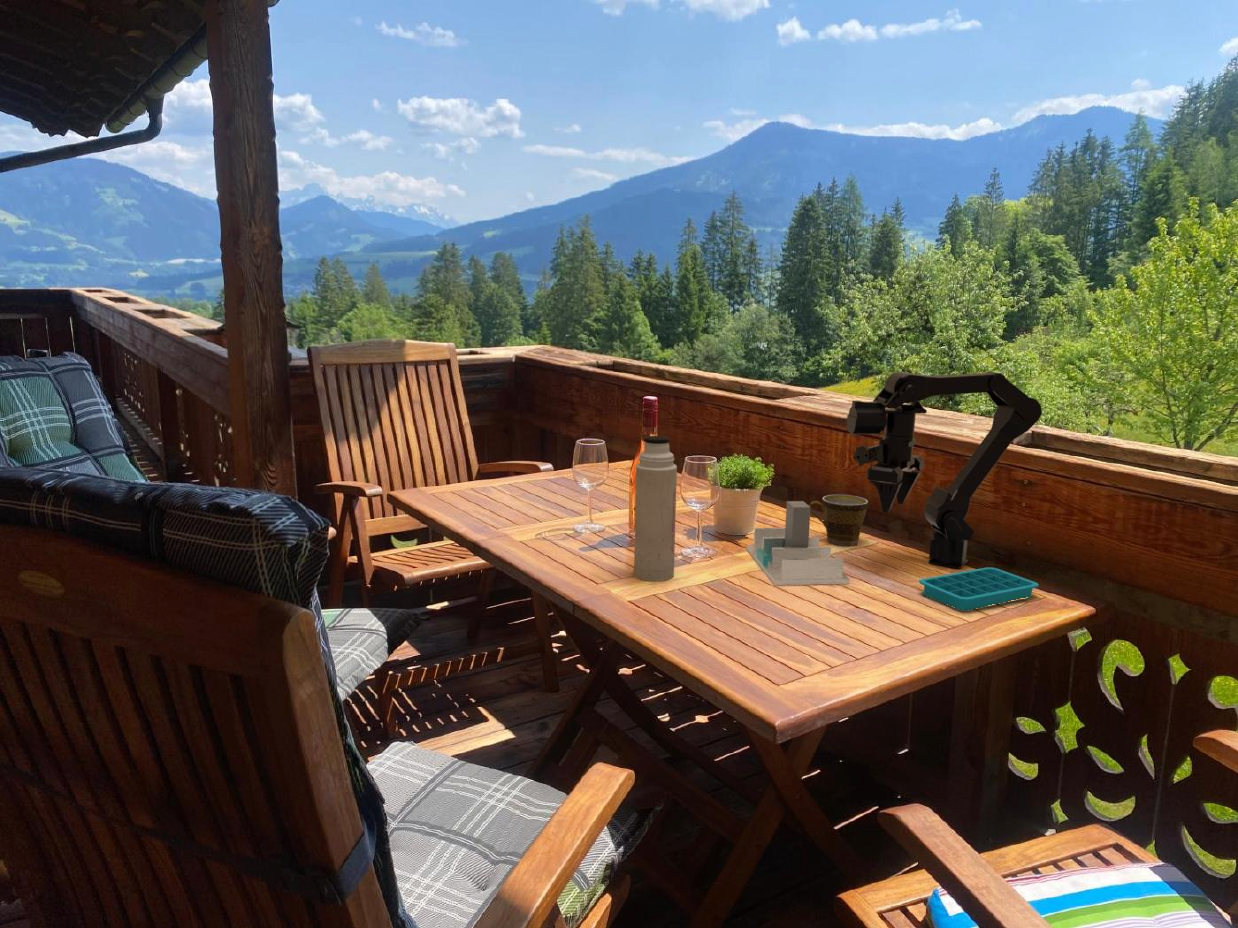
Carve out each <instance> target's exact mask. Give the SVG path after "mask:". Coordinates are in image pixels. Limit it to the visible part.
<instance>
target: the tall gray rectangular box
mask: <svg viewBox="0 0 1238 928" xmlns="http://www.w3.org/2000/svg"><path fill="white" fill-rule="evenodd" d="M809 505H810V504H808V503H806V502H805V501H803V500H795V501H794V500H792V501H790V500H786V509H785V510H786V511H785V526H784V528H785V544H784V548H786V547H808V542H809V537H810V524H811V512H810V510H811V511H812V509H811V507H810V506H809Z"/></svg>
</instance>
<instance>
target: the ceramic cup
mask: <svg viewBox="0 0 1238 928" xmlns="http://www.w3.org/2000/svg"><path fill="white" fill-rule="evenodd" d="M868 503H869V501H868V500H867V499H866V498H864V497H860V496H856V495H850V494H828V495H825V496H823V497H822V503H821V502H820V501H818V500H814V501H811V502H810V503H809V504H808V505H809V506H810V507H811V506H812V505H818V506H819V507H821V510H822V512H823V514H824V520H823V519H821V518H820V516H819V515H818V514H816V513H815V512H814V511H812V509H811V510H810V514H812V515H813V516H814V517H816V518H817V519H818V520H819V522H821V523H822V525H823V527H824V528H825V531H826V539H827V542H828V544H832V545H836V546H839V547H852V546H854V545H857V544H858V542H859V539H860V536H861V535H860V534H861V531H862V526H863V522H864V519H865V518H866V512H867V509H868Z"/></svg>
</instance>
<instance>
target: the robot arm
mask: <svg viewBox="0 0 1238 928" xmlns="http://www.w3.org/2000/svg"><path fill="white" fill-rule="evenodd" d="M884 383H885V384H884V387H883V388H882V389H881V390H880V392H878V394H877V395H876V397H875V398H874V399H873V401H861V400H852V401H851V402H852V403H851V407H850V408H849V410H848V414H847V417H846V426H847V431H848V432H849V434H850V435H879V434H880V433H881V432H884V435H883V436H884V437H883V438H881V439H880V440H879V444H876V445H871V446H868V445H867V444H863V445H858V446H856V447H855V451H853V455H854V456H853V460H855V461H857V462H856V463H857V465H858V466H859V467H860V466H863V465H865V464H868V463H874V462H876V463H875V464H874V465H872V466H870V467H869V468H868V469H867V470H866V480H868V481H869V483H870V484H873V485H874V486H875V487H876V489H877V492H878V495H879V500H880V505H881V510H882V512H883V513H886V514H888V513H889V512H890V510H891V509H892V506H893V504H894V501H895V500H896V502H897V504H898V505H904V503H905V502H906V499H908V498H907V497H908V496H909V494H910V493H911V490H912V489H913V487H914V485H915V483H916V481H917V480H918V478H919V476H920V475H921V474H922V470H924V469H925V462H926V461H925V459H924V458H923V457H922V456H921V455H919V454H918V455H917V454H913V448H914V446H915V445H916V444H917V438H915V436H914V435H915V428H916V427H915V426H916V416H917V415H916V414H926V413H927V412H928V411H927V409H926V408H925V407H923V406H922V404H921V402H920V401H924V400H928V399H929V398H932V397H935V396H936V397H937V396H945V395H962V394H979V393H982V394H983V393H986V394H987V396H988V397H989V399H990V400H991V401H992V403H993V404H994V405H996V406H997V409H996V410H995V412H994V414H993V420H992V425H991V428H990V430H989V431H988V433H987V434H986V435H985V437H984V438H983V440H982V441H981V442H980V443H979V445H978V446H977V448H976V450H975V451H974V452H973V454H972V455H971V456H970V457H969V459H968V460H967V462H966V463H965V464H964V466H963V467H962V469H961V470H960V471H959V473H958V474H957V475H956V477H955V478H954V480H953V481H952V482H951V483H950V484H949V485H948V486H946V487H945V488H941V487H939V486H936V487H935V488H934V489H933V491H932V493H931V495H929V497H928V498H927V499H926V500H925V501H924V502H925V503H926V504H925V506H924V509H923V512H924V517H925V519H926V520H927V522H928V523H930V525H931V527H930V528H931V529H932V530H933V531H935V532H934V533H933V537H932V538H931V539H930V540H929V542H930V543H929V553H928V558H929V560H928V564H932V565H937V566H942V567H948V568H953V569H958V570H959V569H962V568H963V567H964V566H965V565H966V564H967V563H968V559H967V549H968V541H971V540H972V537H973V535H974V533H975V531H974V529H973V528H971V526H970V525H969V524H968V523H967V522H966V521H965V519H966V518H967V515H968V513H969V509H970V506H971V505H970V504H971V501H972V497H973V496H974V495H975V493H976V491H977V490H978V489H979V487H980V486H981V484H982V483H983V482H984V480H985V479H986V478H987V476H988V475H989V474H990V472H991V471H992V470H993V468H994V467H995V466H996V464H997V463H998V462H999V459H1001V457H1002V456H1003V454H1004V453H1005V452H1006V450H1007V449H1008V448H1009V446H1010V445H1011V443H1012V442H1014V440H1016V439H1018V438H1019V437H1021V436H1022V435H1024V434H1026V433H1027V432H1029V430H1030V429H1031V428H1033V426H1034V425H1036V424H1037V422H1038V421H1039V420H1041V419H1040V418H1041V417H1042V415H1043V410H1042V405H1041V404H1040V402H1039V401H1038V400H1037V399H1036V398H1034V397H1030V396H1028V395H1027V394H1026V393H1025V392H1023V390H1021V389H1019V388H1018V387H1017V386H1016V385H1015V384H1013V383H1012V382H1011V381H1009V379H1008V378H1007V377H1006V376H1005V375H1004V374H1002V373H1000V372H995V371H985V372H978V373H977V372H976V373H975V372H974V373H962V374H944V375H942V374H941V375H926V374H919V373H912V372H906V371H905V372H903V371H897V372H893V373H890V375H889V376H888V377H887V378H886V380H885V382H884ZM915 469H916V470H915Z"/></svg>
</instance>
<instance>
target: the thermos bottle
mask: <svg viewBox="0 0 1238 928" xmlns="http://www.w3.org/2000/svg"><path fill="white" fill-rule="evenodd" d="M643 440H644V442H645V443H644V451H642V452H641V453H640V454H639V459H638V460H639V462H638V463H637V464H636V466H635V501H634V502H635V505H634V506H635V510H634V516H635V517H634V530H635V534H634V535H635V536H634V558H633V559H634V560H633V561H634V562H633V563H634V565H633V575H634V577H636V578H637V579H639V580H643V581H648V582H664V581H667V580H668V581H669V580H671V579H672V578H674V575H675V547H676V546H675V545H676V515H677V514H676V513H677V512H676V510H677V481H678V480H677V477H678V476H677V475H678V473H677V471H678V466H677V464H675V463H674V461H675V457H674V453H672V452H671V451H670V444H669V443H670V437H668V436H663V435H649V436H644V438H643Z"/></svg>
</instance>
